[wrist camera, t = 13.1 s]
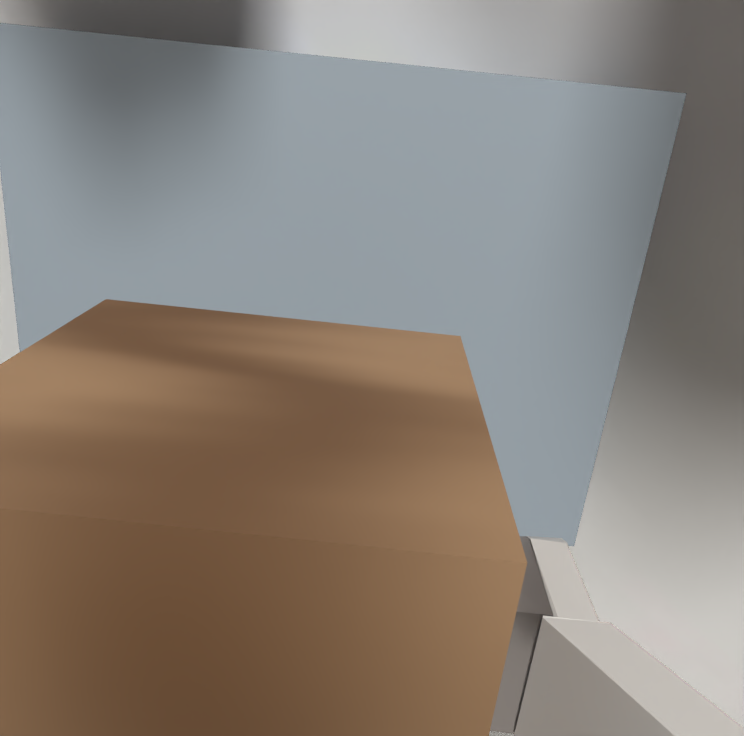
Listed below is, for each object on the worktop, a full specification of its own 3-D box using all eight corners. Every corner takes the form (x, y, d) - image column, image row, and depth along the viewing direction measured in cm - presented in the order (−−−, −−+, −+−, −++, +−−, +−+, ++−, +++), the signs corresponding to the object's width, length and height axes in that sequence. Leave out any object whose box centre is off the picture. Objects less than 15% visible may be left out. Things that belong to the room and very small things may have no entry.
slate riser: (76, 450, 24) (34, 494, 22) (43, 35, 19) (-16, 21, 17) (552, 497, 25) (573, 546, 22) (643, 96, 19) (686, 93, 17)
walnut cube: (120, 586, 12) (-86, 936, 7) (106, 298, 10) (-199, 487, 5) (416, 617, 12) (432, 989, 7) (460, 336, 10) (526, 562, 5)
